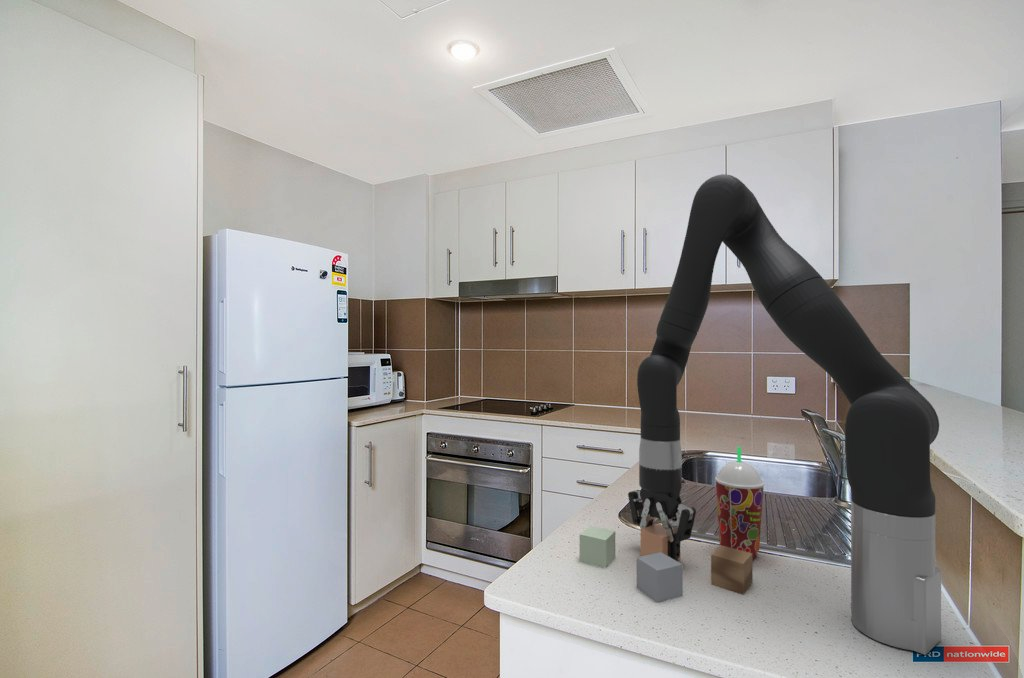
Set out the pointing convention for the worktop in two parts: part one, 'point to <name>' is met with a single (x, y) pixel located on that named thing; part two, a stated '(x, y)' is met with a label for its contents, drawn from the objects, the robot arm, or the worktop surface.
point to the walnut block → (731, 569)
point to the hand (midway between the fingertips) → (660, 554)
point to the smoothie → (739, 505)
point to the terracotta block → (654, 540)
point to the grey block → (659, 577)
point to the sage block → (597, 546)
